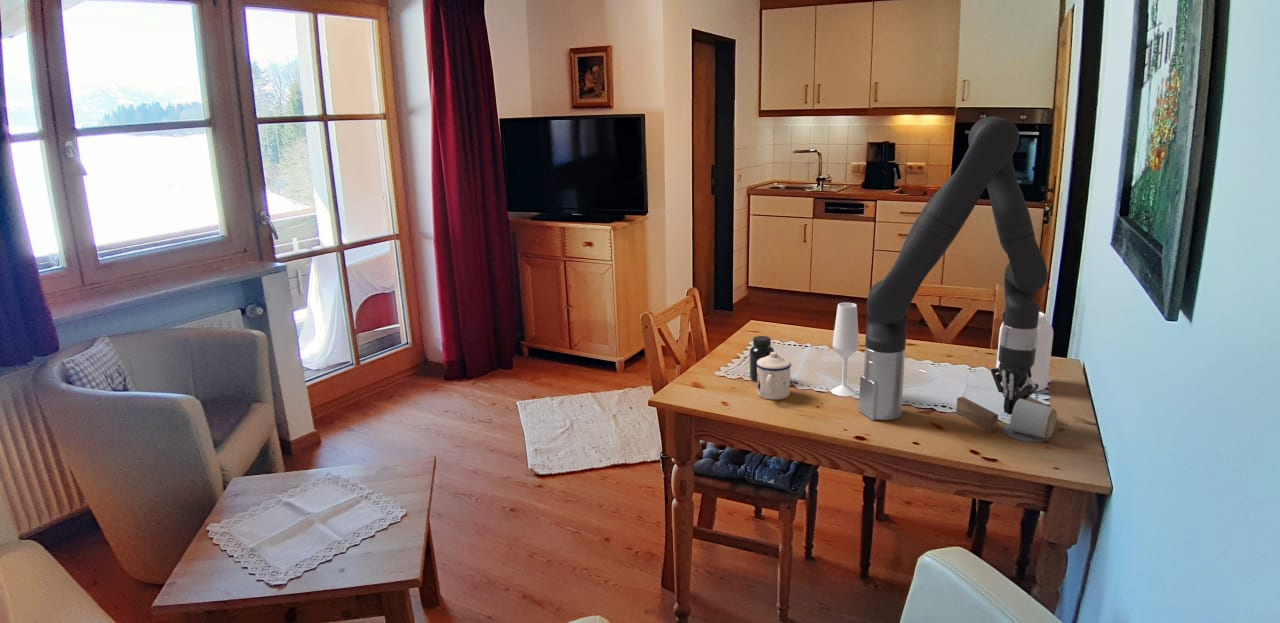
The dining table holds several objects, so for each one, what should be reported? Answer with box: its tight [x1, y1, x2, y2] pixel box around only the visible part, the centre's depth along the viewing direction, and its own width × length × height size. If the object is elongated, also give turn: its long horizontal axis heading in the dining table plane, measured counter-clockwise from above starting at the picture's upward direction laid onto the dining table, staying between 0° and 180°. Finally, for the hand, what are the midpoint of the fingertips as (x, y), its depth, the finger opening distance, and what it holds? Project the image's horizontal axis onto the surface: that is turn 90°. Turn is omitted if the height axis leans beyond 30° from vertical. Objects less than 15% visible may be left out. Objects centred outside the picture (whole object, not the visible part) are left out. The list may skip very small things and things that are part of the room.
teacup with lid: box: [756, 351, 792, 401], centre depth 196 cm, size 12×9×12 cm
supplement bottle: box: [749, 335, 775, 383], centre depth 209 cm, size 7×7×12 cm
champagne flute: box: [830, 302, 860, 397], centre depth 195 cm, size 7×7×24 cm
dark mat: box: [1001, 423, 1052, 443], centre depth 170 cm, size 10×10×1 cm
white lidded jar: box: [995, 311, 1054, 392], centre depth 196 cm, size 12×12×20 cm
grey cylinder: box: [1009, 399, 1058, 438], centre depth 169 cm, size 11×8×8 cm
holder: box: [955, 396, 1051, 433], centre depth 178 cm, size 16×12×4 cm
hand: (1010, 413), depth 176 cm, fingers closed
